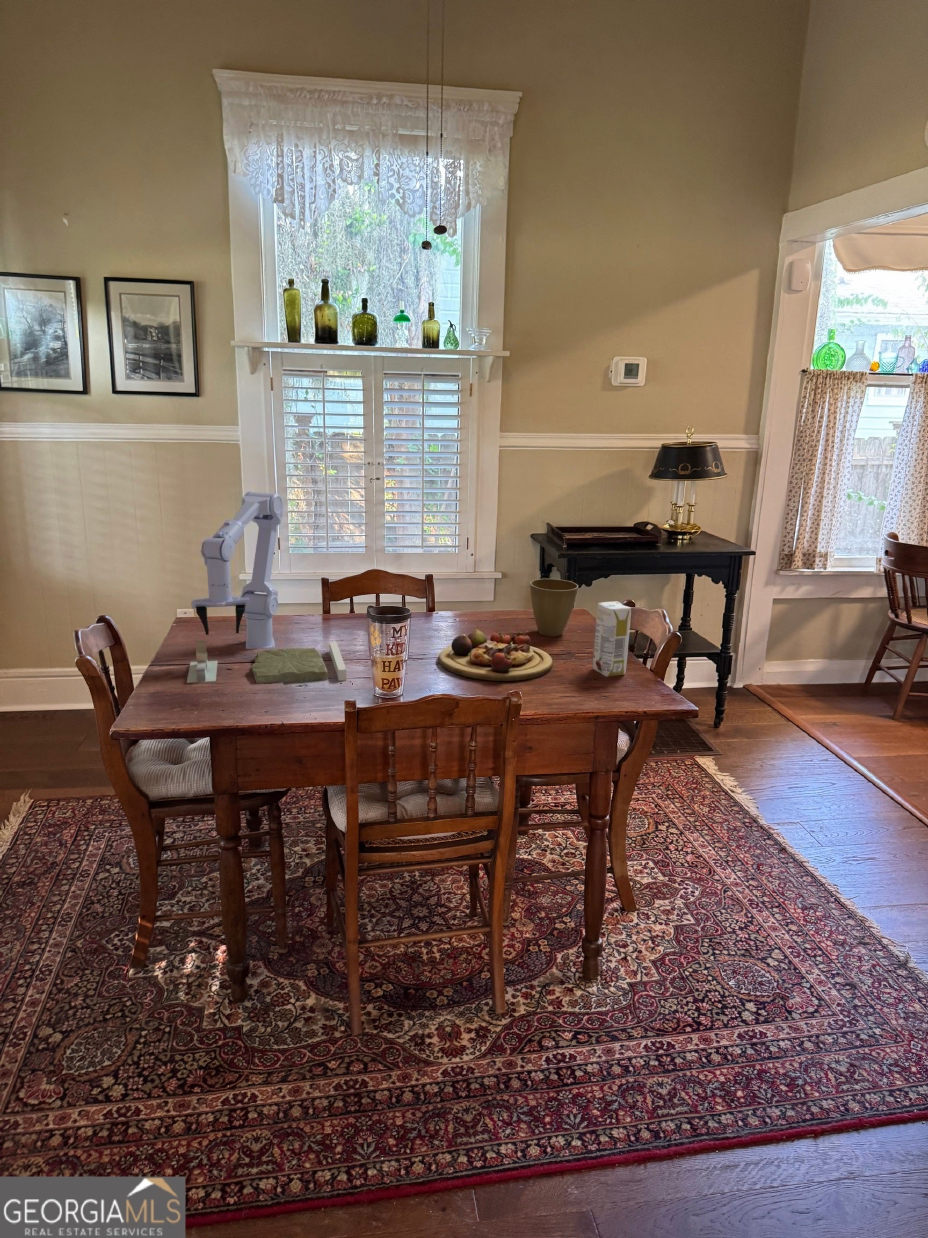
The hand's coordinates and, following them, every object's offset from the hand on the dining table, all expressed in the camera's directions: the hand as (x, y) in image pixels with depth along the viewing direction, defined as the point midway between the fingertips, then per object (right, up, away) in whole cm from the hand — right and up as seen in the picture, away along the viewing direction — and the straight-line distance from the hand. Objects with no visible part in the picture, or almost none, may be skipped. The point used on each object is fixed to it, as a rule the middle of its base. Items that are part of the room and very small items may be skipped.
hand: (222, 633), depth 215 cm
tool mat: (-4, -10, -3) cm, 12 cm away
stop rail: (+30, -9, +6) cm, 31 cm away
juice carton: (+104, -11, +7) cm, 105 cm away
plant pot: (+92, -1, +41) cm, 100 cm away
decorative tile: (+17, -11, +1) cm, 20 cm away
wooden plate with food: (+73, -9, +12) cm, 74 cm away
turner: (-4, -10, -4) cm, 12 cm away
